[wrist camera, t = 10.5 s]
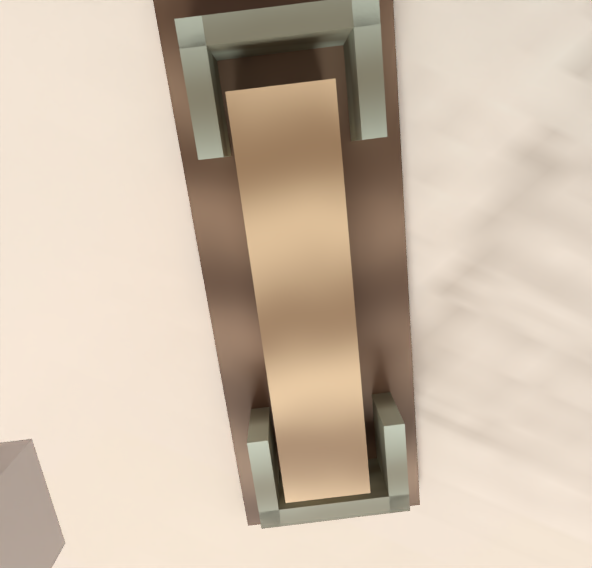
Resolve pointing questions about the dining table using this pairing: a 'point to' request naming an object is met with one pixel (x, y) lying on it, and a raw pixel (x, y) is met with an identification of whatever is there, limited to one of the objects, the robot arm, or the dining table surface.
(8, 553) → the robot arm
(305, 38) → the cradle
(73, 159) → the dining table surface
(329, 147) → the slat
